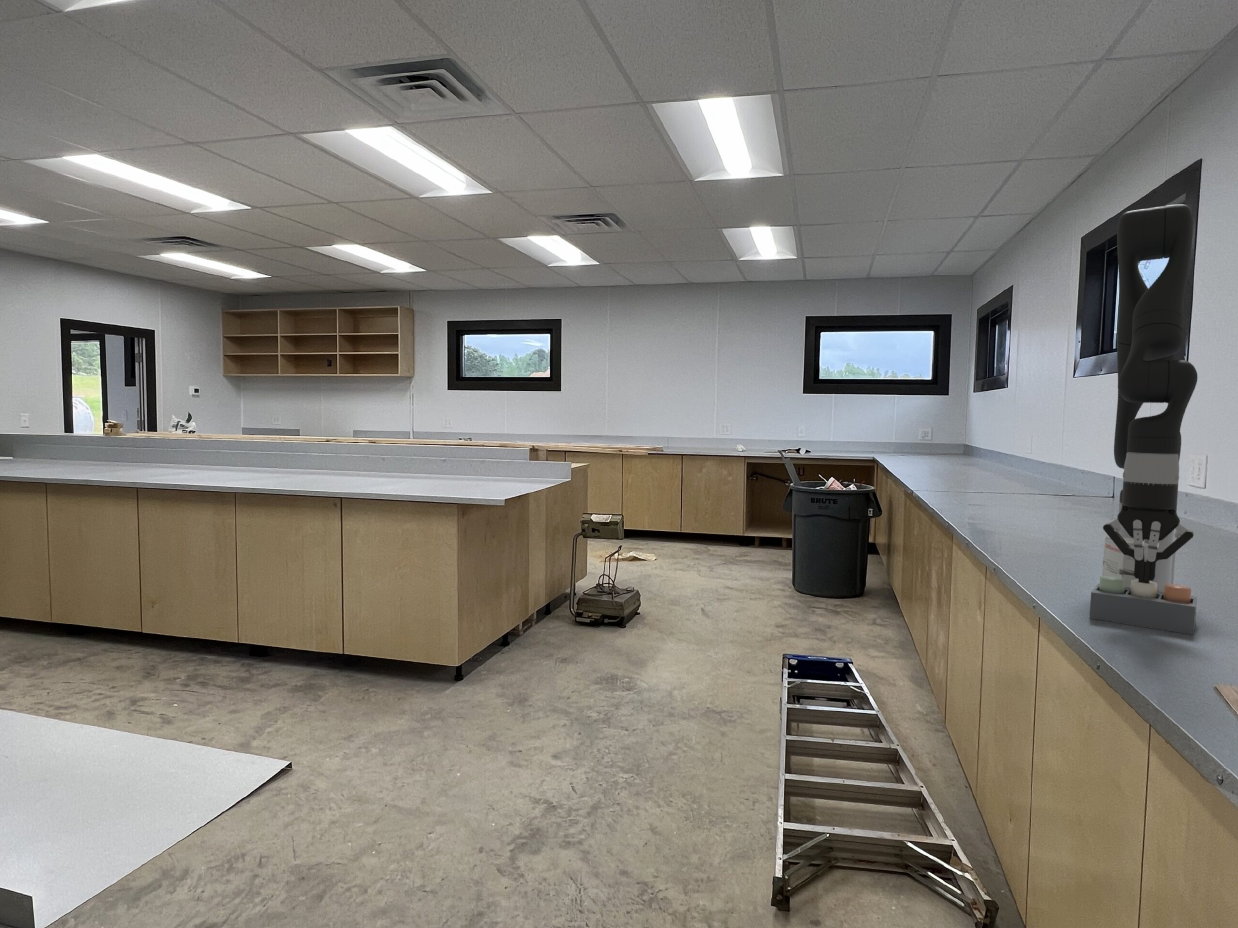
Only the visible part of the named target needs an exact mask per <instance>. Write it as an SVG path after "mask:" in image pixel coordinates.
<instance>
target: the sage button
mask: <svg viewBox="0 0 1238 928" xmlns="http://www.w3.org/2000/svg"><path fill="white" fill-rule="evenodd" d="M1099 584H1100V585H1099V591H1105V592H1112V593H1119V594H1124V588H1125V579H1122V578H1117V577H1109V576H1102V575H1101V576H1100V577H1099Z"/></svg>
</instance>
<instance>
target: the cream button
mask: <svg viewBox="0 0 1238 928" xmlns="http://www.w3.org/2000/svg"><path fill="white" fill-rule="evenodd" d="M1130 595H1134V596H1141V597H1148V598H1157V583H1155V582H1152V581H1150V583H1149V584H1148V583H1141V582H1139V580H1131V594H1130Z"/></svg>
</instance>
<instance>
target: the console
mask: <svg viewBox="0 0 1238 928" xmlns="http://www.w3.org/2000/svg"><path fill="white" fill-rule="evenodd" d="M1099 585H1100V583H1098V584H1096V586H1094V588H1093V589H1092V591H1091V592H1090V607H1089V608H1090V609H1089V619H1091V620H1098V621H1106V622H1110V621H1111V623H1117V624H1123V625H1131V626H1135V627H1136V626H1137V627H1142V628H1149V629H1156V630H1162V631H1168V632H1175V633H1181V634H1187V635H1194V632H1195V627H1196V621H1197V620H1196V618H1197V617H1196V616H1197V603H1198V601H1197V600H1198V597H1197V596H1195V595H1191V602H1190V603H1185V602H1177V601H1170V600H1163V594H1164V592H1158V591H1157V598H1148V597H1141V596H1134V595H1130V594H1131V588H1127V587H1125V588H1124V594H1119V593H1112V592H1105V591H1099Z"/></svg>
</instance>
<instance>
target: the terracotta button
mask: <svg viewBox="0 0 1238 928" xmlns="http://www.w3.org/2000/svg"><path fill="white" fill-rule="evenodd" d="M1191 596H1192V588H1191V587H1189V586H1186V585H1181V584H1180V585H1179V584H1173V585H1171V584H1167V585H1164V594H1163V600H1170V601H1177V602H1185V603H1190V602H1191Z"/></svg>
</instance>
